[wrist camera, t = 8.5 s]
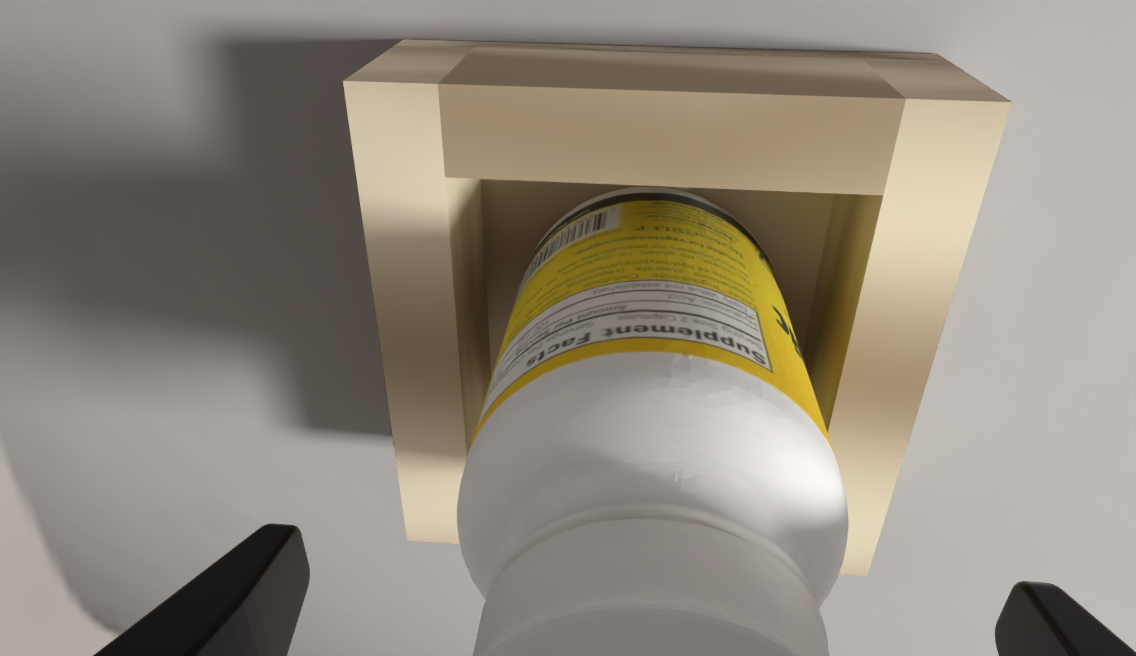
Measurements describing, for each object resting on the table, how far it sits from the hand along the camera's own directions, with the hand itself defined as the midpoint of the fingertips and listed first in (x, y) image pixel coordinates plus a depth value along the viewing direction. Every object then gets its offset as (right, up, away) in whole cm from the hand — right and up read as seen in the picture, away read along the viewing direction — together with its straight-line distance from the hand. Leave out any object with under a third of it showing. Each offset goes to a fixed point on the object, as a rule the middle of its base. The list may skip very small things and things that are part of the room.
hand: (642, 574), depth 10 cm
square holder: (+1, +4, +7) cm, 8 cm away
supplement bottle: (+1, +4, +7) cm, 8 cm away
